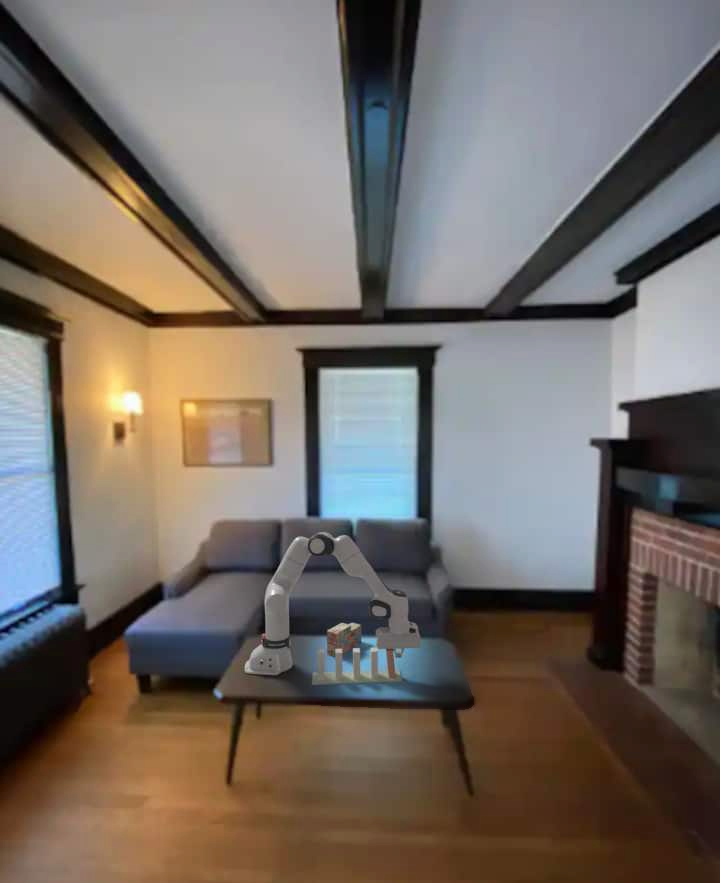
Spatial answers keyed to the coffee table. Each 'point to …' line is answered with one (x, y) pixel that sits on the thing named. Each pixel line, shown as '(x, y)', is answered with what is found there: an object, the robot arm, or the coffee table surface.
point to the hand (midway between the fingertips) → (398, 657)
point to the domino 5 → (390, 662)
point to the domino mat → (348, 679)
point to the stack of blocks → (343, 637)
